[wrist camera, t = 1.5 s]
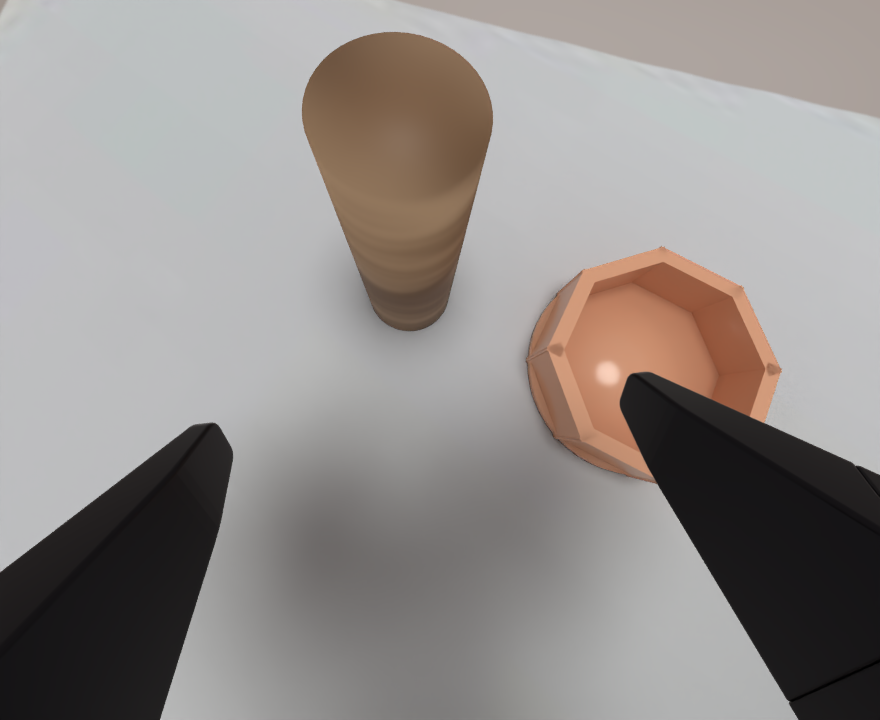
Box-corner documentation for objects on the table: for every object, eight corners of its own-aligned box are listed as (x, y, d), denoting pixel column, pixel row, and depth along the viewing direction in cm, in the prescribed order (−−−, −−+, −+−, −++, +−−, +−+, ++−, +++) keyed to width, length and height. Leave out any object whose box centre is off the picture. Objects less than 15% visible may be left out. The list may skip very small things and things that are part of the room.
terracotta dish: (684, 512, 21) (738, 530, 17) (493, 413, 21) (508, 412, 17) (748, 328, 23) (807, 312, 19) (575, 241, 23) (603, 210, 20)
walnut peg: (426, 344, 21) (440, 230, 9) (355, 308, 21) (264, 141, 9) (461, 278, 22) (523, 83, 9) (393, 243, 22) (362, 3, 9)
